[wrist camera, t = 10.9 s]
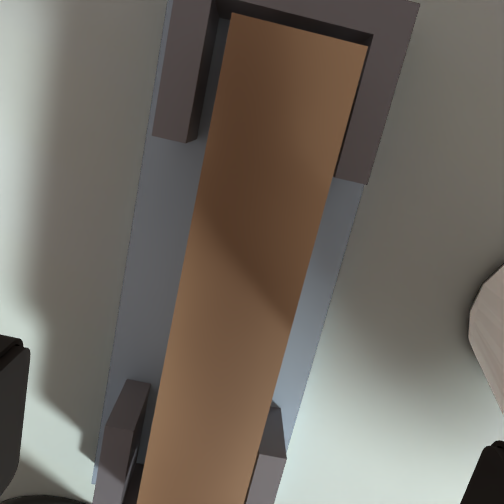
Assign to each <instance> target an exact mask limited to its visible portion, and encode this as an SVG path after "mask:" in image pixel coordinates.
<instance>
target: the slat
mask: <svg viewBox="0 0 504 504" xmlns="http://www.w3.org/2000/svg"><path fill="white" fill-rule="evenodd" d="M367 49H368V46H364V45H360V44H356V43H352V42H348V41H344V40H340V39H336V38H332V37H328V36H324V35H320V34H316V33H313V32H309V31H305V30H301V29H297V28H293V27H289V26H285V25H281V24H277V23H273V22H269V21H265V20H261V19H257V18H253V17H249V16H245V15H241V14H237V13H233V12H232V14H231V19H230V25H229V30H228V35H227V40H226V45H225V50H224V56H223V61H222V66H221V71H220V76H219V81H218V87H217V92H216V97H215V102H214V107H213V112H212V118H211V123H210V128H209V133H208V138H207V143H206V148H205V154H204V159H203V164H202V169H201V174H200V179H199V185H198V190H197V195H196V200H195V205H194V210H193V216H192V221H191V226H190V231H189V236H188V241H187V247H186V252H185V257H184V262H183V267H182V272H181V278H180V283H179V288H178V293H177V298H176V303H175V309H174V314H173V319H172V324H171V329H170V334H169V339H168V345H167V350H166V355H165V360H164V365H163V370H162V376H161V381H160V386H159V391H158V396H157V401H156V407H155V412H154V417H153V422H152V427H151V432H150V438H149V443H148V448H147V453H146V458H145V463H144V469H143V474H142V479H141V484H140V489H139V494H138V499H137V504H244V501H245V497H246V493H247V490H248V486H249V482H250V479H251V475H252V471H253V468H254V464H255V460H256V457H257V453H258V449H259V446H260V442H261V438H262V435H263V431H264V427H265V424H266V420H267V416H268V413H269V409H270V405H271V402H272V398H273V394H274V391H275V387H276V383H277V380H278V376H279V372H280V369H281V365H282V361H283V357H284V354H285V350H286V346H287V343H288V339H289V335H290V332H291V328H292V324H293V321H294V317H295V313H296V310H297V306H298V302H299V299H300V295H301V291H302V288H303V284H304V280H305V277H306V273H307V269H308V266H309V262H310V258H311V255H312V251H313V247H314V244H315V240H316V236H317V233H318V229H319V225H320V222H321V218H322V214H323V210H324V207H325V203H326V199H327V196H328V192H329V188H330V185H331V181H332V177H333V174H334V170H335V166H336V163H337V159H338V155H339V152H340V148H341V144H342V141H343V137H344V133H345V130H346V126H347V122H348V119H349V115H350V111H351V108H352V104H353V100H354V97H355V93H356V89H357V86H358V82H359V78H360V75H361V71H362V67H363V63H364V60H365V56H366V52H367Z"/></svg>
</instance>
